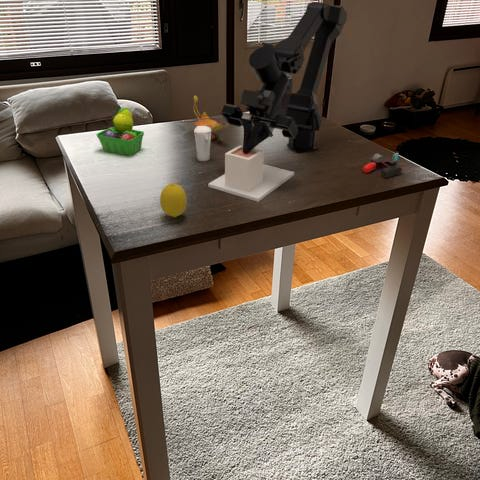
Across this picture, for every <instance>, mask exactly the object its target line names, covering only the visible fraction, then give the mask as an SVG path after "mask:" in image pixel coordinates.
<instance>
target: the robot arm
mask: <svg viewBox="0 0 480 480" xmlns="http://www.w3.org/2000/svg"><path fill="white" fill-rule="evenodd" d="M305 10H306V11H305V12H304V13H303V15H302V16H301V18H300V19H299V21H298V22H297V24H296V25H295V27H294V28H293V29H292V32H291V33H290V34H289V36H288V37H286V38H284V39H282V40H280V41H278V42H277V44H275V46H273V45H274V44H272V43H263V44H262V46H261V47H258V48H256V49H255V50H254V51H253V52H252V53H251V54H250V55H249V58H248V64H249V65H250V68H251V69H252V70H253V73H254V74H255V76H256V79H257V80H258V81H259V82H260V83H262V84H261V86H260V88H259V89H258V90H257V89H255V90H248V89H242V91H241V92H242V93H241V96H240V100H239V104H240V105H245V109H246V111H248V112H245V111H243V110H242V109H241V107H240V106H239V105H234V104H229V103H226V104H223V106H222V108H221V109H220V112H219V113H220V115H221V116H222V117H223V119H225V121H226V123H227V124H229V125H231V126H235V127H243V138H242V139H243V140H242V141H243V144H242V146H243V153H245V154H248V153H249V152H250V151H251V150H252V149H253V148H254V149H256V147H257V146H259V144H261V143H262V142H264V141H265V140H266V139H268V138H273V136H274V134H273V132H274V129H275V130H276V129H277V130H281V134H282V136H283V137H284V138H287V139H288V143H286V146H287V147H289V148H290V149H291V150H293V151H294V152H295V153H304V152H310V151H316V150H317V147H316V146H315V137H316V136H315V135H316V132H319V131H320V129H321V127H322V126H321V125H322V122H323V120H322V118H321V116H320V115H321V114H320V113H319V106H320V105H319V102H318V97H317V93H318V89H319V86H320V83H321V79H322V75H323V73H324V69H325V66H326V63H327V59H328V56H329V53H330V50H331V46H332V44H333V42H334V41H335V40H336V39H337V38H338V37H339V36H340V35H341V33H342V30H343V28H344V26H345V25H346V22H347V19H348V13H347V11H346V10H345V8H344V6H342V5H331V4H329V3H326V2H320V1H319V2H317V1H311V2H309V3H307V5H306V9H305ZM313 37H314V39H313ZM312 39H313V42H312V44H311V45H312V46H311V48H310V52H309V56H308V58H307V59H308V60H307V61H306V62H307V63H306V66H305V69H304V73H303V76H302V80H301V83H300V86H299V89H298V90H297V91H296V92H292V94H291V95H290V99H289V103H288V105H287V107H286V111H285V116H284V115H277V116H276V118H275V119H273V118H274V115H275V113H276V111H277V110H280V108H281V105H280V102H281V99H282V97H283V95H284V93H285V90H286V89H288V90H289V89H290V83H289V78H288V77H287V75H286V74H291V75H292V74H293V75H296V74H297V73H298V72H299V71H300V70H301V69H302V67H303V64H304V62H305V54H304V52H305V50H306V48H307V47H308V46H309V44H310V42H311V41H312Z"/></svg>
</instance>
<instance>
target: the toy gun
mask: <svg viewBox="0 0 480 480" xmlns="http://www.w3.org/2000/svg"><path fill="white" fill-rule="evenodd" d="M398 158H399V152H395V153H394V154H392V157H391V159H390V158H388V157H385V156H384V155H381V154H380V153H375V154H374V155H373V156H372V158H371V159H370V162H369V163H367V164H365V165H364V166H363V167H362V172H363V173H364V174H368V173H370V172H372V171H374V170H381V171H380V172H381V173H380V177H382V178H383V179H390V178H391V177H395V176H401V174H402V170H403V166H402V165H400V164H399V163H398V161H397V160H398Z"/></svg>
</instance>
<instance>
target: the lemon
mask: <svg viewBox="0 0 480 480" xmlns="http://www.w3.org/2000/svg"><path fill="white" fill-rule="evenodd" d="M159 201H160V207H161V209H162V211H163V212H164V213H165V215H167V216H168V217H169V216H170V217H172V218H173V219H175V218H177V217H178V216H180V215H182V214H184V212H185V211H186V208H187V205H188V203H187V202H188V199H187V194H186V191H185V190H184V188H183V187H182V186H181V185H179V184H177V183H175V182H171V183H169V184H167V185H165V187H163V189H161V193H160V198H159Z"/></svg>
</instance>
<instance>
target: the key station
mask: <svg viewBox="0 0 480 480" xmlns="http://www.w3.org/2000/svg"><path fill="white" fill-rule="evenodd" d="M241 149H243V144H240V145H238V146H236V147H234V148H233V149H231V150H229V151H226V152H225V153H224V174H222V175H221V176H219V177H216V178H215V179H214V180H212V181H210V182H209V183H208V185H207V186H208V188H211V189H215V190H217V191H220V192H224V193H227V194H230V195H234V196H238V197H241V198H243V199H247V200H251V201H254V202H257V203H259V202H260V201H261V200H263V199H264V198H265V197H267V196H268V195H269V194H271V193H272V192H273V191H275V190H276V189H277V188H279V187H280V186H281V185H283V184H285V183H286V182H287V181H288V180H290V179H291V178H292V177H294V175H295V171H291V170H287V169H283V168H279V167H275V166H271V165H268V164H264V161H265V159H264V158H265V157H264V155H265V151H264V150H262V149H258V148H253V149H252V150H251V152H255V153H256V154H254V155H252V156H251V157H249V158H246V157H242V156H239V155H235V154H234V153H236V152H238V151H239V150H241Z"/></svg>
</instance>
